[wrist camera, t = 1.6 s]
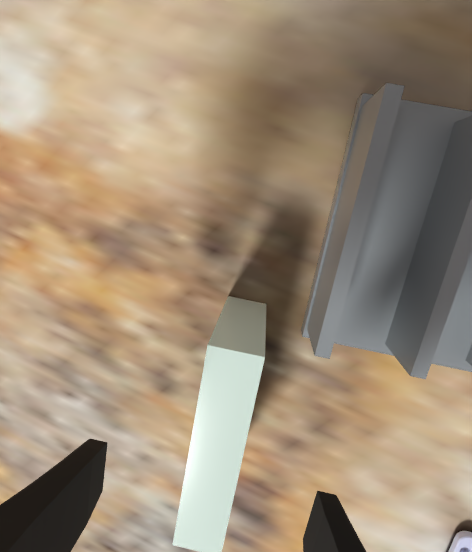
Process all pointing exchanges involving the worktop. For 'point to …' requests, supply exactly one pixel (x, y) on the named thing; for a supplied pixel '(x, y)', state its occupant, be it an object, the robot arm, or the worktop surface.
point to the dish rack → (399, 238)
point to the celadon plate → (221, 424)
